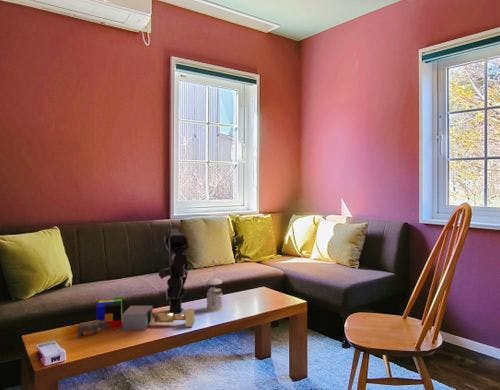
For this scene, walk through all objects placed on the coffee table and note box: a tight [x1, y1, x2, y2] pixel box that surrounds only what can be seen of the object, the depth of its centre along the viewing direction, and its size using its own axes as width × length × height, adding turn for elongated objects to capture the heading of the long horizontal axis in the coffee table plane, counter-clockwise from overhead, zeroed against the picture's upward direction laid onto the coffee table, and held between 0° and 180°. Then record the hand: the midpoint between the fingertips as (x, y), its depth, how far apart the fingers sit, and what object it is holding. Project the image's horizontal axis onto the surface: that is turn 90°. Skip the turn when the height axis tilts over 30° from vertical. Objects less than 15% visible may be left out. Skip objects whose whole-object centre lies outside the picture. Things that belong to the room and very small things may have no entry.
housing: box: [121, 305, 154, 331], centre depth 176 cm, size 12×10×7 cm
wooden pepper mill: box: [153, 308, 195, 328], centre depth 176 cm, size 6×17×6 cm, turn 90°
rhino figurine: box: [76, 319, 110, 340], centre depth 166 cm, size 4×14×6 cm, turn 124°
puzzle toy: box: [96, 298, 123, 331], centre depth 177 cm, size 10×10×10 cm
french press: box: [204, 259, 225, 313], centre depth 198 cm, size 10×12×25 cm
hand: (178, 295), depth 181 cm, fingers open, 9 cm apart
